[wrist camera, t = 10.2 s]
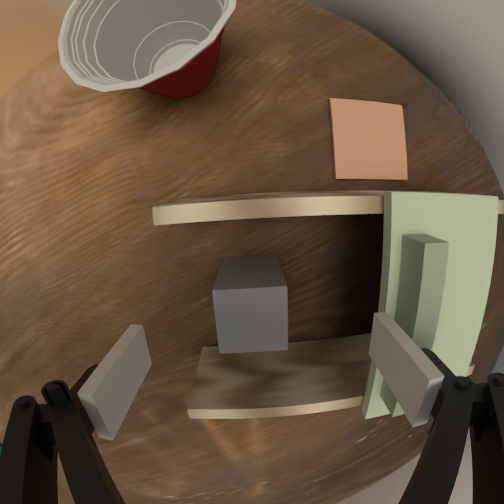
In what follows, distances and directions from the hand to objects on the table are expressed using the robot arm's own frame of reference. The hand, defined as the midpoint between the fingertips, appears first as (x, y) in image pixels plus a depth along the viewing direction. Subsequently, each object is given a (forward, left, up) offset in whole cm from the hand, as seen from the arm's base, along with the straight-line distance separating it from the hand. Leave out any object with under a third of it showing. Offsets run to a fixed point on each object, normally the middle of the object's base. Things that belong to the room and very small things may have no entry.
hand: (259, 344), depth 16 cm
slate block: (0, 0, -11) cm, 11 cm away
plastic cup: (-5, +19, -11) cm, 23 cm away
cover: (+12, 0, -1) cm, 12 cm away
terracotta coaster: (+11, +12, -11) cm, 19 cm away
